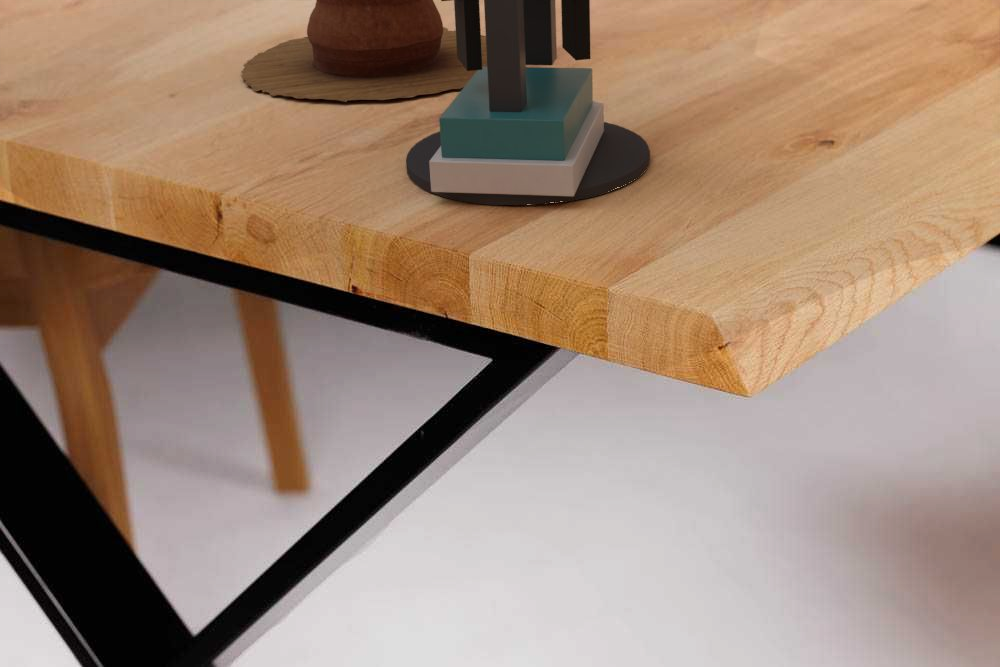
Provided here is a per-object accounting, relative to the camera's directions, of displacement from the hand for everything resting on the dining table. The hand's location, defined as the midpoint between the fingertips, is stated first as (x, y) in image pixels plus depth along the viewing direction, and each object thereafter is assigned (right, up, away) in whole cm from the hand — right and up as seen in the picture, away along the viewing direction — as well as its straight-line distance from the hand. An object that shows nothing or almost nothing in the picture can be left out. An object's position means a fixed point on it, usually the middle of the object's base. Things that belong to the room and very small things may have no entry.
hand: (523, 57), depth 72 cm
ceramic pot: (-9, +3, +22) cm, 24 cm away
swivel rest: (0, -5, +3) cm, 6 cm away
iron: (0, -5, +3) cm, 6 cm away
